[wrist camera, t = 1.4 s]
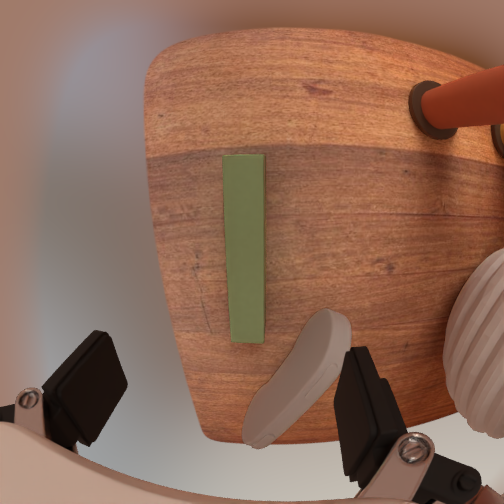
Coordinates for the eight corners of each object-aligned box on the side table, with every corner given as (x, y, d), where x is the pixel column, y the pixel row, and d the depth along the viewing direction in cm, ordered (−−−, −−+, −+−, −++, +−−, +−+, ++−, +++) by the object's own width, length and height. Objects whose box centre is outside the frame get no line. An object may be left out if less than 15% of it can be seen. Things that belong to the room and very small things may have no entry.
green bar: (236, 319, 28) (230, 342, 24) (230, 156, 22) (221, 155, 19) (265, 320, 27) (264, 344, 23) (265, 155, 22) (263, 154, 18)
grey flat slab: (260, 410, 32) (255, 460, 24) (244, 405, 32) (237, 456, 24) (343, 301, 26) (365, 353, 18) (324, 292, 26) (341, 344, 18)
